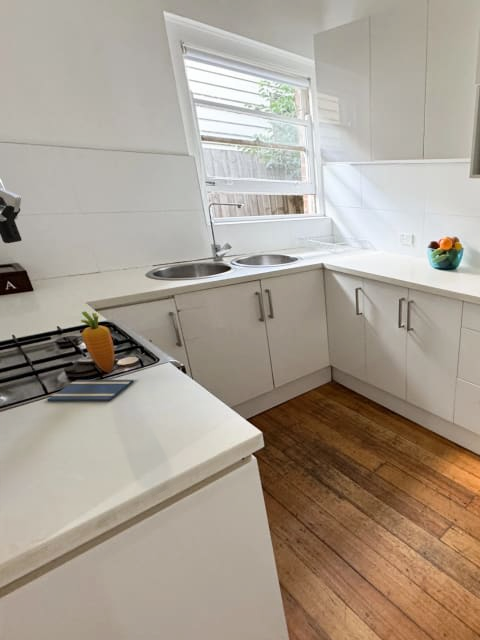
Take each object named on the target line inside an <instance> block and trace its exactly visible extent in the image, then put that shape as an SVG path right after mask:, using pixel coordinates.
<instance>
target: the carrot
mask: <svg viewBox="0 0 480 640" xmlns="http://www.w3.org/2000/svg"><path fill="white" fill-rule="evenodd" d="M81 314H82V315H83V316H84V317H85V318H86V319H81V320H80V322H81V323H84V324H85V325H87V326H89V327H86V328H84V330H82V332H81V338H82V341H83V343H84V346H85V347H86V351H87V353H88V354H89V355H90V358H91V359H93V360H94V362H95V363H96V364H95V365H96V366H97V367H98V368H99V369H101V371H103V372H104V373H107V374H110V373H111V372H112V371H113V367H114V365H115V364H114V359H115V346H114V341H113V338H112V334H111V331H110V330H111V329H110V328H109V327H107V326H104V325H99V315H98V314H97V313H95V312H92V313H91V315H92V317H91V315H90V314H89V313H88V312H87V311H86V310H84V311H82V312H81Z"/></svg>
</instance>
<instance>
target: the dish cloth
mask: <svg viewBox="0 0 480 640" xmlns="http://www.w3.org/2000/svg"><path fill="white" fill-rule="evenodd" d="M133 383H134V380H133V379H75V381H72V382H71V383H69V384H68V385H67V386H65V387H64V388H62V389H61V390H59V391H57V392H56V393H53V394H52V395H51V396H50V397H48V398H47V399H46V400H47V402H110V401H112V400H113V399H114V398H115V397H117V396H118V395H119V394H120V393H121V392H123V391H124V390H126V388H128V387H129V386H130V385H131V384H133Z"/></svg>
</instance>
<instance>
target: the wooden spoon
mask: <svg viewBox="0 0 480 640" xmlns="http://www.w3.org/2000/svg"><path fill="white" fill-rule="evenodd" d="M77 363H78V364H80V365H97V364H96V363H95V362H94V360H93V359H92V358H79V359H78V360H77ZM138 364H140V359H139V357H138V356H128V357H124V358H121V359H118V358H114V364H113V365H117V367H119V368H121V369H122V368H130V367H135V366H136V365H138Z"/></svg>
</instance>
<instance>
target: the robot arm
mask: <svg viewBox="0 0 480 640" xmlns="http://www.w3.org/2000/svg"><path fill="white" fill-rule="evenodd" d="M21 203H22V198H21V196H20V195H18V194H16V193H14V192H12V191H10V190H8V189H6V188H5V186H4V184H3V181H2V179H1V178H0V238H1V240H2V242H3V243H4V244H11V243H12V244H13V243H18V242H21V241H22V236H21V234H20V231H19V228H18V226H17V223H16V221H17V220H18V217H19V216H18V215H19V214H20V212H21Z"/></svg>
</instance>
